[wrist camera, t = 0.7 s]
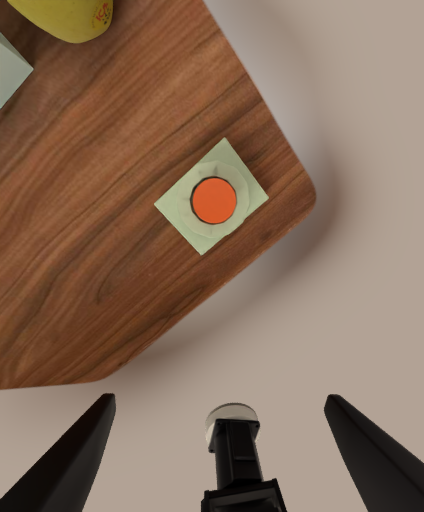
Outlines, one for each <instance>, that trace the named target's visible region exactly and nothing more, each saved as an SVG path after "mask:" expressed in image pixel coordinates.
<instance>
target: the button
mask: <svg viewBox="0 0 424 512" xmlns="http://www.w3.org/2000/svg"><path fill="white" fill-rule="evenodd" d="M193 206H194V209H195V212H196V213H197V215H198V216H199V217H200V218H201V219H202V220H204V221H206V222H209V223H220V222H223V221H225V220H226V219H228V218H229V217H230V216H231V215H232V213H233V212H234V209H235V206H236V195H235V192H234V190H233V188H232V187H231V186H230V184H228V183H227V182H226V181H224V180H222V179H218V178H211V179H207V180H205V181H203V182H202V183H201V184H200V185H199V186H198V187H197V188H196V190H195V192H194V195H193Z"/></svg>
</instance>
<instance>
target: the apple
mask: <svg viewBox="0 0 424 512" xmlns="http://www.w3.org/2000/svg"><path fill="white" fill-rule="evenodd" d="M7 1H8V2H9V3H10V4H11V5H12V6H13V7H14V8H15V9H16V10H18V11H19V12H20V13H21V14H22V15H24V16H25V17H26V18H27V19H29V20H30V21H31V22H33V23H34V24H35V25H37V26H38V27H40V28H42V29H43V30H45V31H47V32H48V33H50V34H52V35H53V36H55V37H57V38H59V39H62V40H64V41H67V42H70V43H82V42H86V41H89V40H91V39H94V38H96V37H98V36H99V35H101V34H102V33H104V32H105V31H106V30H107V29H108V27H109V25H110V23H111V20H112V14H113V0H7Z"/></svg>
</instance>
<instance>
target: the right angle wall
mask: <svg viewBox="0 0 424 512" xmlns="http://www.w3.org/2000/svg"><path fill="white" fill-rule="evenodd" d="M33 70H34V69H33V68H32V67H31V66H30V64H29V63H28V62H27V61H26V60H25V59H24V58H23V57H22V56H21V54H20V53H19V52H18V51H17V50H16V49H15V48H14V47H13V46H12V44H11V43H10V42H9V41H8V40H7V39H6V38H5V37H4V36H3V35H2V33H1V32H0V109H1V108H2V106H3V105H4V104H5V103H6V102H7V100H8V99H9V98H10V97H11V96H12V95H13V93H14V92H15V91H16V90H17V89H18V87H19V86H20V85H21V84H22V83H23V82H24V80H25V79H26V78H27V77H28V76H29V74H30V73H31V72H32V71H33Z"/></svg>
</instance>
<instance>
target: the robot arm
mask: <svg viewBox="0 0 424 512" xmlns="http://www.w3.org/2000/svg"><path fill="white" fill-rule="evenodd" d="M115 412H116V404H115V395H114V394H113V393H112V394H111V393H110V394H109V393H105V394H103V395H102V396H101V397H100V398H99V399H98V400H97V401H96V402H95V403H94V404H93V405H92V406H91V407H90V408H89V409H88V410H87V411H86V412H85V413H84V414H83V415H82V416H81V417H80V418H79V419H78V420H77V421H76V422H75V423H74V424H73V425H72V426H71V427H70V428H69V429H68V430H67V431H66V432H65V433H64V435H62V436H61V438H60V439H59V440H58V441H57V442H56V443H55V444H54V445H53V446H52V447H51V448H50V449H49V450H48V451H47V452H46V453H45V454H44V455H43V456H42V457H41V458H40V459H39V460H38V461H37V462H36V463H35V464H34V465H33V466H32V467H31V468H30V469H29V470H28V471H27V472H26V474H24V475H23V476H22V478H20V479H19V481H18V482H17V483H16V484H15V485H14V486H13V487H12V488H11V489H10V490H9V491H8V492H7V493H6V494H5V495H4V496H3V497H2V498H1V499H0V512H82V510H83V508H84V505H85V502H86V500H87V497H88V495H89V492H90V490H91V487H92V484H93V482H94V479H95V477H96V474H97V471H98V469H99V466H100V463H101V459H102V456H103V452H104V450H105V446H106V443H107V439H108V436H109V433H110V430H111V426H112V423H113V420H114V416H115ZM324 412H325V416H326V418H327V421H328V423H329V426H330V428H331V431H332V433H333V435H334V438H335V441H336V443H337V446H338V448H339V451H340V453H341V455H342V458H343V460H344V462H345V465H346V466H347V469H348V471H349V473H350V475H351V477H352V479H353V481H354V483H355V485H356V487H357V489H358V491H359V494H360V495H361V498H362V500H363V502H364V504H365V506H366V508H367V510H368V512H424V463H423V462H422V461H421V460H419V459H418V458H417V457H416V456H414V455H413V454H412V453H411V452H409V451H408V450H407V449H406V448H404V447H403V446H402V445H401V444H399V443H398V442H397V441H396V440H394V439H393V438H392V437H391V436H390V435H388V434H387V433H386V432H385V431H383V430H382V429H381V428H380V427H378V426H377V425H376V424H375V423H373V422H372V421H371V420H369V419H368V418H367V417H366V416H365V415H364V414H362V413H361V412H360V411H358V410H357V409H356V408H355V407H354V406H352V405H351V404H350V403H349V402H347V401H346V400H345V399H344V398H343V397H341V396H340V395H337V394H330V395H328V397H327V401H326V404H325V407H324ZM259 428H260V423H259V421H255V420H239V419H223V418H218V419H216V420H215V423H214V427H213V431H212V435H211V439H210V443H209V447H208V449H209V452H210V453H215V457H216V474H217V490H213V491H209V490H206V491H205V492H204V499H203V500H202V501H201V512H287V510H286V507H285V504H284V501H283V498H282V494H281V491H280V488H279V485H278V482H277V479H276V478H274V479H272V480H270V481H264V480H263V475H262V471H261V466H260V462H259V458H258V453H257V449H256V445H255V440H256V437H257V434H258V431H259Z"/></svg>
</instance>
